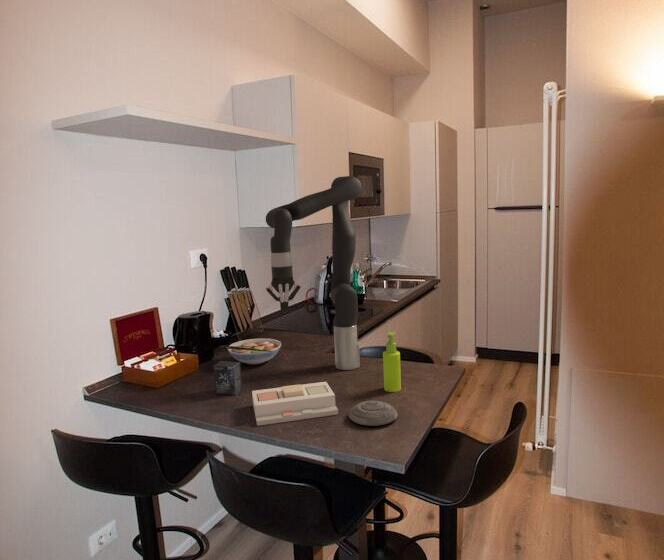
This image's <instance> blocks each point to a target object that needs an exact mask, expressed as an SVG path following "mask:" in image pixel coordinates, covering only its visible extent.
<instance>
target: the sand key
mask: <svg viewBox="0 0 664 560" xmlns="http://www.w3.org/2000/svg"><path fill="white" fill-rule="evenodd" d="M301 385H302V384H300V383H299V384H293V385H291V384H290V385H283V386H281V387H282V395H283V398H288V397H296V396H303V389H302V387H301Z"/></svg>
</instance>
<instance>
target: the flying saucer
mask: <svg viewBox="0 0 664 560" xmlns="http://www.w3.org/2000/svg"><path fill="white" fill-rule="evenodd" d="M347 416H348V418H349V419H350V421H352V422H354V423H355V424H358V425H362V426H370V427H373V426H376V427H377V426H383V425H388V424H390V423H392V422H393V421H395V420H396V419H397V418H398V416H399V415H398V412H397V410H396V408H394V406H392V405H391V404H389V403H387V402H384V401H382V400H366V401H365V400H364V401H362V402H359V403H357V404H355V405H353V407H351V409H350V410H349V412H348V415H347Z"/></svg>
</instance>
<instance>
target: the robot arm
mask: <svg viewBox="0 0 664 560" xmlns="http://www.w3.org/2000/svg"><path fill="white" fill-rule="evenodd" d="M361 192H362V182H361V181H360V180H359V178H358V177H356V176H351V175H346V176H345V175H344V176H338V177H336V178H334V179H333V180H332V183H331V185H330V188H327V189H325V190H321V191H319V192H314V193H311V194H308V195H305V196H303V197H301V198H298V199H296V200H294V201H292V202H290V203H288V204H282V205H281V206H277V207H275V208H272V209H270V210H269V211H268V212H267V214H266V216H265V222H266V224H267V227H269V228H271V229H273V230H274V231H273V232H274V233H273V236H272V237H271V238H270V242H269V243H270V265H271V267H270V268H271V282H270V285H269V286H268V287H266V288H265V290H266V292H267V293H268V295H270V296H271V297H272V298H273V299H274V300H275V301H276V302H279V304H280V305H279V307H280V311H281V312H282V313H288V311H289V310H290V309H289V307H290V306H289V302H290V301H292V300H293V299H294V298H295V296H296V295H297V294H298V293H299V291H300V289H301V285H299V284H298V283H295V282H296V281H295V280H294V272H293V259H292V258H293V257H292V252H291V235H292V229H293V222H295V221H299V220H303V219H305V218H307V217H310V216H312V215H314V214H316V213H318V212H320V211H322V210H325V209H326V208H327V209H328V208H330V207H331V209H332V210H331V214H332V215H331V216H332V223H331V224H332V225H331V226H332V231H331V232H332V235H331V239H332V240H331V251H332V253H331V254H332V255H331V257H332V258H331V261H332V262H331V263H332V275H331V276H332V278H331V286H330V300H331V303H332V304H333V305H334V314H335V315H334V318H333V321H332V322H333V338H334V339H333V341H334V357H335V358H334V361H335V362H334V363H335V368H336V369H338V370H342V371H343V370H344V371H349V370H351V371H352V370H355V369H357V368H360V367H361V365H360V364H361V361H360V358H361V357H360V345H359V343H358V325H357V323H358V322H357V321H358V319H359V318H358V316H359V308H358V307H359V303H358V302H359V301H358V294H357V291H356V289H354V288H353V287H352V285H351V270H352V265H353V262H354V258H355V255H356V244H357V243H356V242H357V241H356V237H357V236H356V231H355V228H354V225H353V223H352V220H351V218H350V213H349V210H350V209H349V207H350V206H349V201H354V200H356V199H357V198H358V197H359V196H360V195H361V194H362V193H361ZM292 289H293V290H292ZM274 290H275V291H276V292H277V293H278V296H277V295H276V293H274V292H273V291H274ZM291 290H292V291H291ZM289 293H290V294H289Z"/></svg>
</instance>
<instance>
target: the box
mask: <svg viewBox="0 0 664 560" xmlns="http://www.w3.org/2000/svg"><path fill="white" fill-rule="evenodd" d="M213 377H214V386H215V394H216V395H217V394H218V395H228V396H237V395H238V393H240V392H241V391H242V390H243V386H242V385H243V384H242V371H241V362H240V361H237V362H236V361H224V360H223V361H222V360H220V361H219V362H217V363H216V364H214V365H213Z"/></svg>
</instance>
